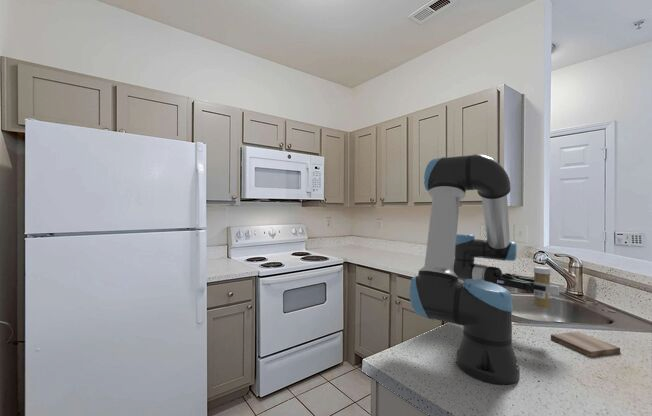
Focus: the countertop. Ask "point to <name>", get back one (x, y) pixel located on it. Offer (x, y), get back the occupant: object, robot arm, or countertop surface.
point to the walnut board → (585, 344)
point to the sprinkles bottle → (542, 277)
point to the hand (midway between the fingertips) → (561, 289)
